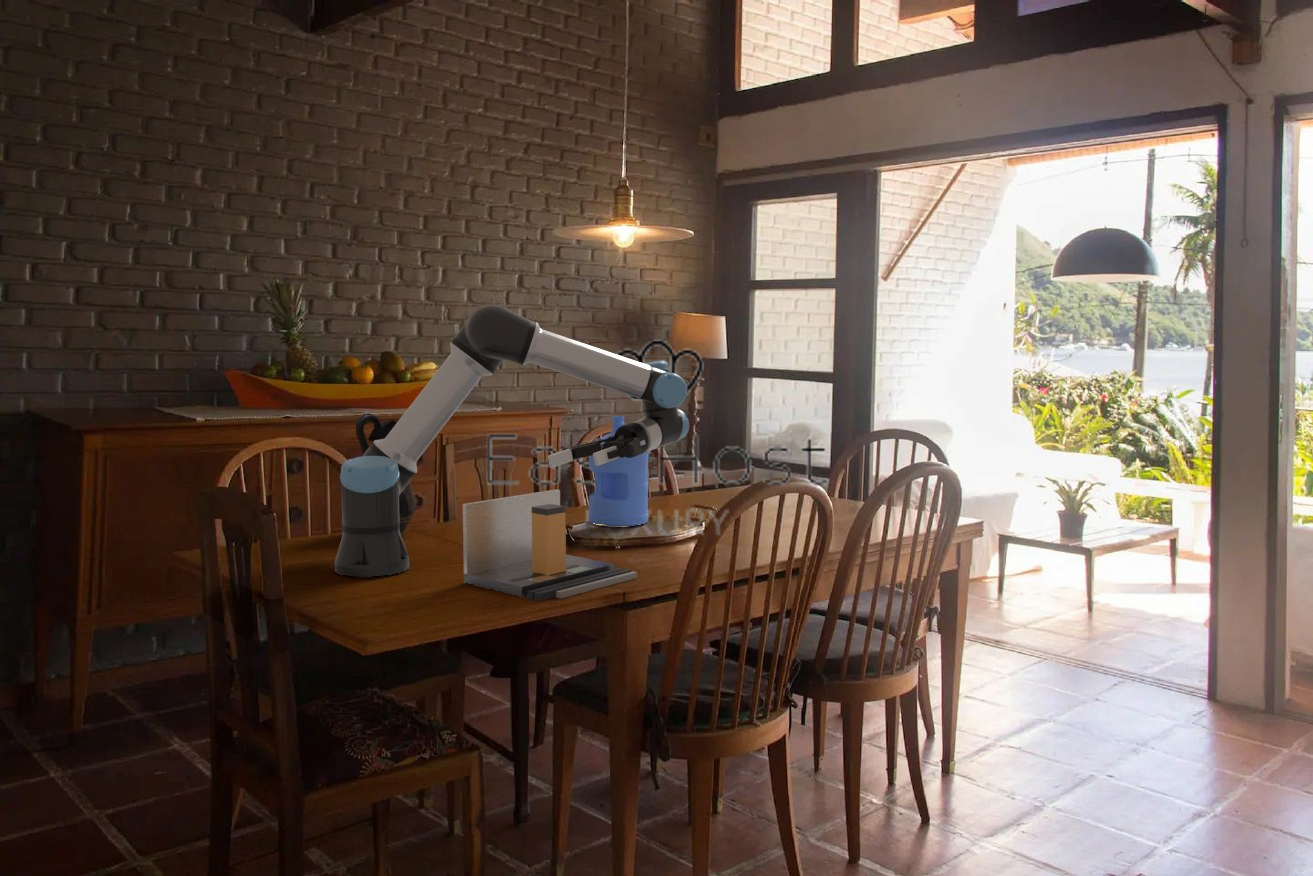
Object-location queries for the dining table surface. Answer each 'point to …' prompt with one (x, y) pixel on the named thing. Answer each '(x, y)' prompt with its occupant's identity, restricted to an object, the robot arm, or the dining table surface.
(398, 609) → the dining table surface
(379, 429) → the ceramic jug
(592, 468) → the water jug
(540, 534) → the lever
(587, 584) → the long grooved rail
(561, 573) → the l-shaped metal bracket
